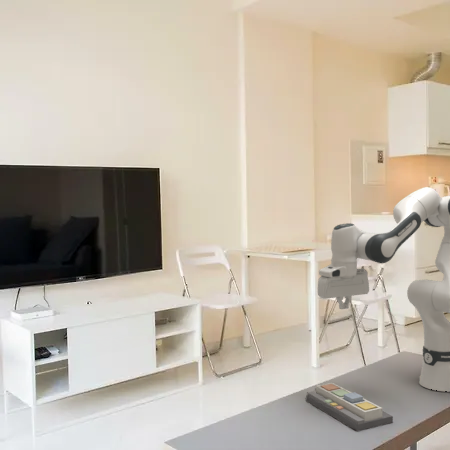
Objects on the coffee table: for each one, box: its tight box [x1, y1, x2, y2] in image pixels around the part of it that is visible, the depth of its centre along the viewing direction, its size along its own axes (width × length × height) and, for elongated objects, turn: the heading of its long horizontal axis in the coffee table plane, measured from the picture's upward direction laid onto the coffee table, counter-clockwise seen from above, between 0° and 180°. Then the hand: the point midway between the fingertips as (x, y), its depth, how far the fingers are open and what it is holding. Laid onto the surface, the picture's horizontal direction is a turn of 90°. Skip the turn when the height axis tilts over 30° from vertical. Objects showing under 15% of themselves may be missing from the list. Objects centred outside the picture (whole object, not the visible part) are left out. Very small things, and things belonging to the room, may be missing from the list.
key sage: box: [332, 390, 348, 397], centre depth 181 cm, size 4×4×2 cm
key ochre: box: [356, 402, 376, 411], centre depth 170 cm, size 4×4×2 cm
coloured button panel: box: [305, 382, 394, 432], centre depth 178 cm, size 14×27×5 cm, turn 26°
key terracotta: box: [321, 384, 339, 391], centre depth 186 cm, size 4×4×2 cm
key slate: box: [344, 391, 364, 404], centre depth 175 cm, size 4×4×2 cm
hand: (343, 308), depth 191 cm, fingers closed
